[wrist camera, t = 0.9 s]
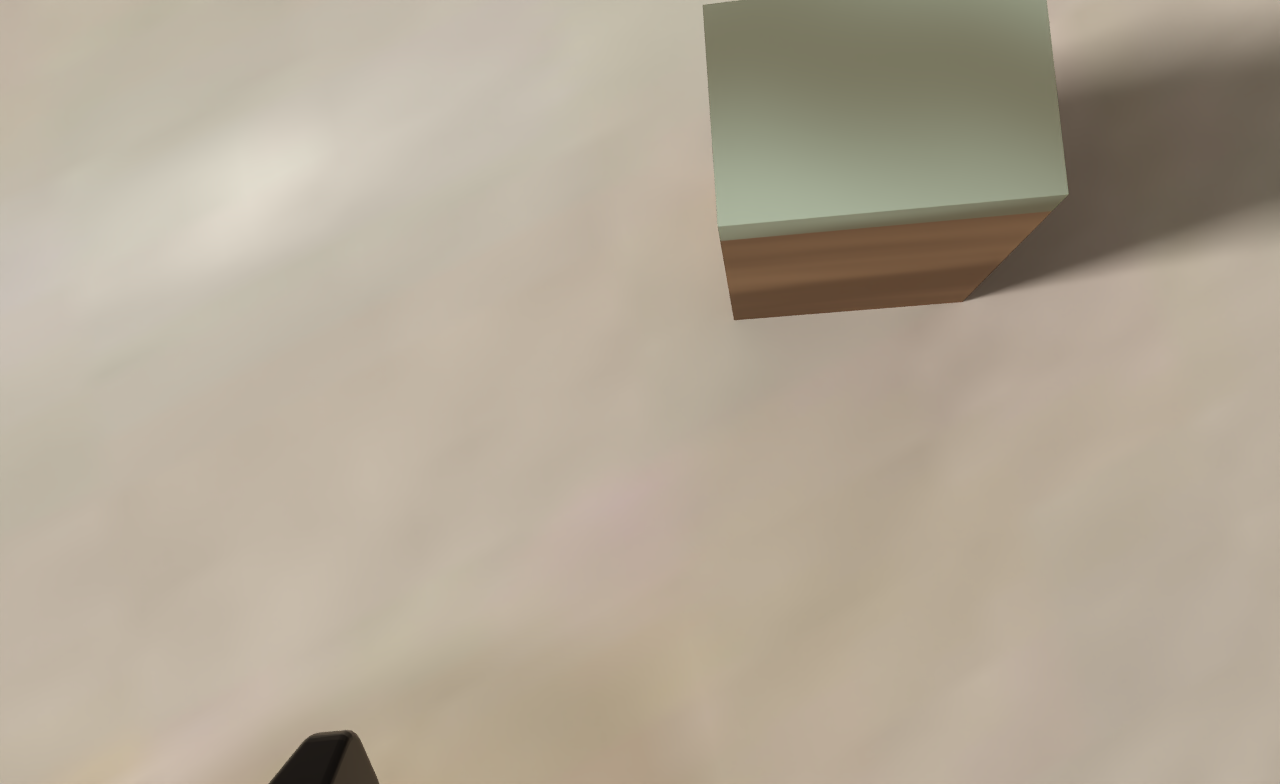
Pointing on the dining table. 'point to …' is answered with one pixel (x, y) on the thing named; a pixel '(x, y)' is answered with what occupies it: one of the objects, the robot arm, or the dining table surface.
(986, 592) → the dining table surface
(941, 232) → the walnut block
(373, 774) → the robot arm
